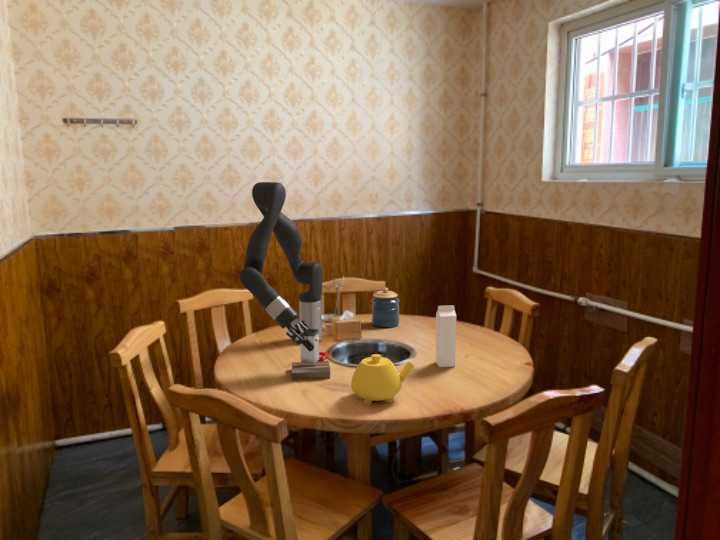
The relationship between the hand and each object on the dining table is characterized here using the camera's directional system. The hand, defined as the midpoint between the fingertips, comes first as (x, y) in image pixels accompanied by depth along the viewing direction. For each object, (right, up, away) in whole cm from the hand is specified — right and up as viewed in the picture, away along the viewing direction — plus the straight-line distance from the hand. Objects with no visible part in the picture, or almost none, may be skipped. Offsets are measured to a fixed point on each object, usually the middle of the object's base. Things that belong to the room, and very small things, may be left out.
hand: (314, 347), depth 191 cm
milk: (+47, -8, +9) cm, 48 cm away
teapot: (+23, -13, -20) cm, 33 cm away
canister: (+28, +1, +65) cm, 70 cm away
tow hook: (-1, -7, +19) cm, 20 cm away
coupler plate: (-2, -9, +1) cm, 10 cm away
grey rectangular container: (-2, -5, +1) cm, 6 cm away
